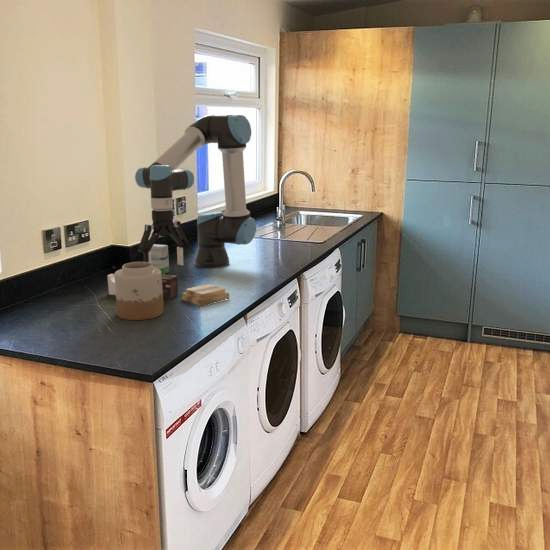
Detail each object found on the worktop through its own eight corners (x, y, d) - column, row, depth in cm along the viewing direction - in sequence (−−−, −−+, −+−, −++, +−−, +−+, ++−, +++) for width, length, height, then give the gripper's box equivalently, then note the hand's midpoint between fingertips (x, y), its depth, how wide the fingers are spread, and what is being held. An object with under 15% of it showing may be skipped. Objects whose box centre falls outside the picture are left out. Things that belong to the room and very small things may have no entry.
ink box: (170, 272, 258) (168, 244, 255) (163, 274, 254) (161, 247, 251) (153, 270, 262) (151, 243, 259) (146, 272, 257) (144, 245, 254)
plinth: (182, 299, 219) (181, 288, 218) (208, 292, 227) (208, 282, 226) (202, 306, 211) (201, 295, 210) (229, 299, 219) (228, 288, 218)
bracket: (124, 296, 224) (123, 277, 222) (109, 295, 227) (107, 275, 225) (145, 287, 236) (143, 269, 234) (129, 286, 238) (128, 267, 236)
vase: (124, 306, 212) (120, 259, 208) (167, 306, 211) (165, 259, 207) (111, 320, 197) (107, 270, 193) (158, 320, 197) (155, 270, 192)
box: (155, 297, 222) (154, 278, 220) (164, 293, 228) (163, 274, 226) (170, 299, 220) (169, 279, 218) (178, 294, 226) (177, 275, 224)
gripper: (137, 213, 205) (140, 275, 210) (197, 207, 222) (198, 263, 227) (125, 211, 210) (129, 271, 215) (185, 205, 227) (187, 260, 232)
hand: (165, 267), depth 221 cm, fingers open, 13 cm apart
